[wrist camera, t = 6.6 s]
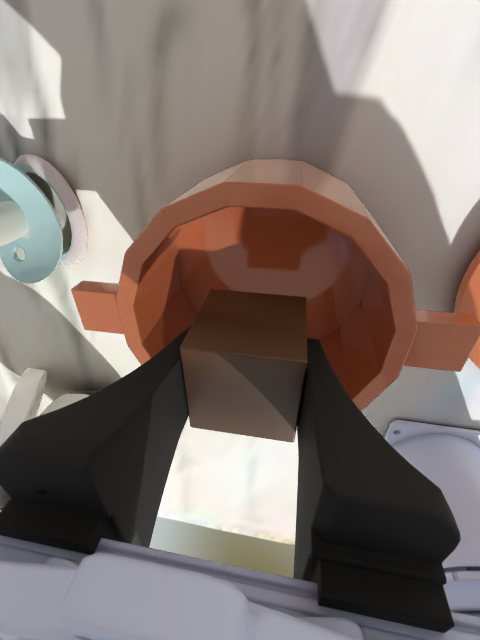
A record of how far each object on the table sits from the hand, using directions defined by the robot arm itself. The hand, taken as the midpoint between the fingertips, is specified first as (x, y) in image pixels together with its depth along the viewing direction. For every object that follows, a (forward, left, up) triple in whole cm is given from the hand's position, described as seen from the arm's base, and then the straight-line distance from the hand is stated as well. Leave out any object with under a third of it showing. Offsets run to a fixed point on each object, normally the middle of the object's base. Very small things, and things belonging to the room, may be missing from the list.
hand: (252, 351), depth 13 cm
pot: (0, 0, -7) cm, 7 cm away
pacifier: (+3, +14, -8) cm, 16 cm away
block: (0, 0, -1) cm, 1 cm away
